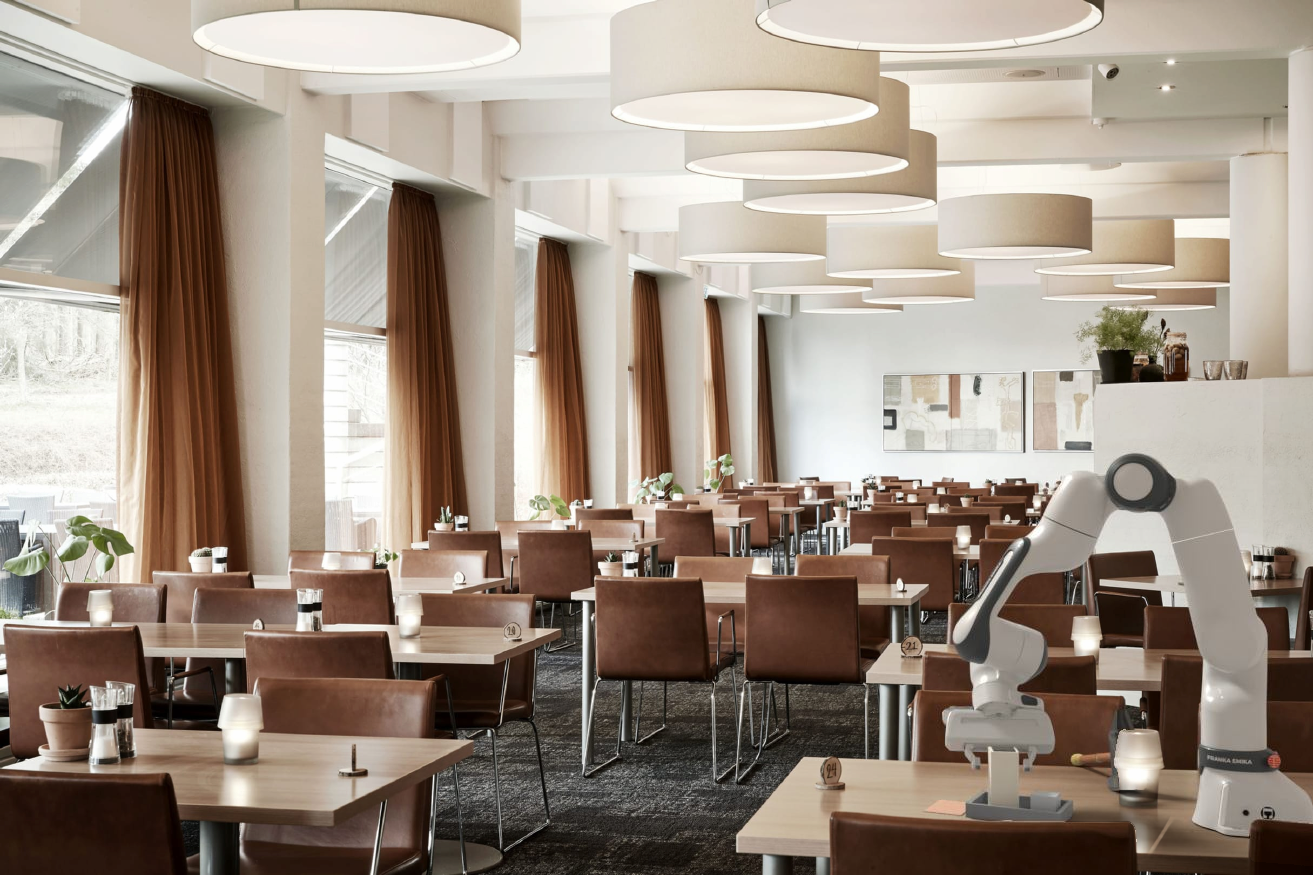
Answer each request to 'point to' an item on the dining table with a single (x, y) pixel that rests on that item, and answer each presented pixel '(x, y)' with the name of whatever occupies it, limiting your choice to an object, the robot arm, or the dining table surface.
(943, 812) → the pad
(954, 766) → the dining table surface
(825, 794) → the dining table surface
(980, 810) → the parts tray
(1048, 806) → the grey block
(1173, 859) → the dining table surface
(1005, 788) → the white box
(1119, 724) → the hammer
